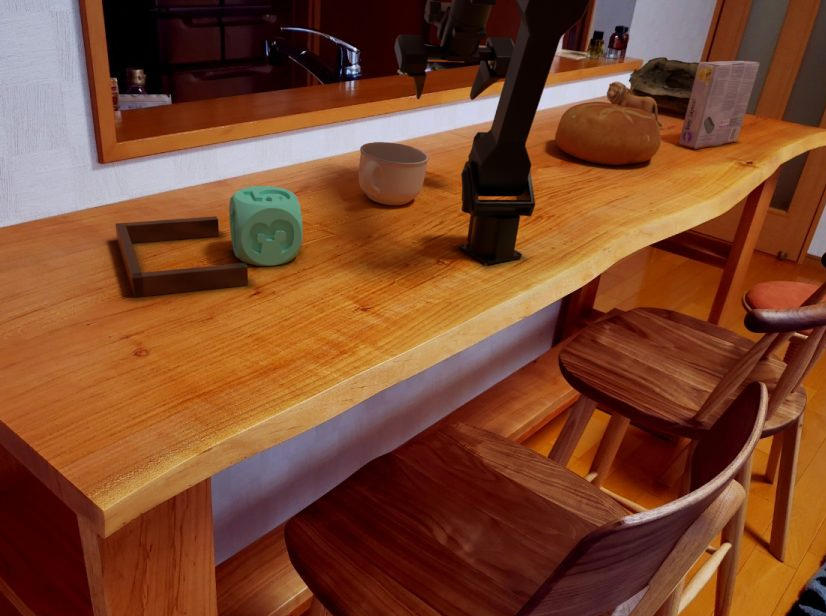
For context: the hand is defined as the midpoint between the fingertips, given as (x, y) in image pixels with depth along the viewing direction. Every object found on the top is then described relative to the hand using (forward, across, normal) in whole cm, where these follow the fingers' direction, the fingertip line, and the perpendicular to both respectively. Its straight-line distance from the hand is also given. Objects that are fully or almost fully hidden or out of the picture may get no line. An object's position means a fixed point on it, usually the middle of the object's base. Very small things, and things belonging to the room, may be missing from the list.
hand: (444, 97), depth 123 cm
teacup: (+8, +11, +15) cm, 20 cm away
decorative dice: (-2, +32, +32) cm, 46 cm away
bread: (+23, -42, -9) cm, 49 cm away
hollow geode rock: (+44, -83, -43) cm, 103 cm away
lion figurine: (+37, -63, -33) cm, 80 cm away
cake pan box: (+29, -73, -18) cm, 81 cm away
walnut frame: (-4, +42, +34) cm, 54 cm away
